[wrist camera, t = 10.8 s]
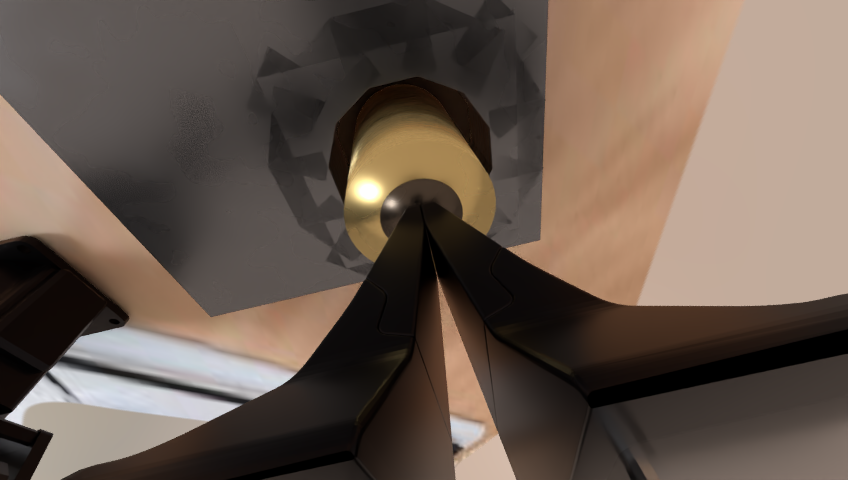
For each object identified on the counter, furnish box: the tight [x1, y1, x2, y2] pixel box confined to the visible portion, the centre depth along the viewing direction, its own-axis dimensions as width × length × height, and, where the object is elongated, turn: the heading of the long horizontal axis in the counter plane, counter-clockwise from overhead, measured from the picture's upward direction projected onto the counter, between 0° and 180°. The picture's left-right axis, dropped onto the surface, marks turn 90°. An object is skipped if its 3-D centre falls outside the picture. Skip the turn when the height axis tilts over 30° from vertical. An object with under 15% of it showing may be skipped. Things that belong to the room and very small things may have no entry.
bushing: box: [344, 84, 496, 270], centre depth 12 cm, size 4×4×7 cm
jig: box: [0, 0, 548, 317], centre depth 12 cm, size 16×16×4 cm
